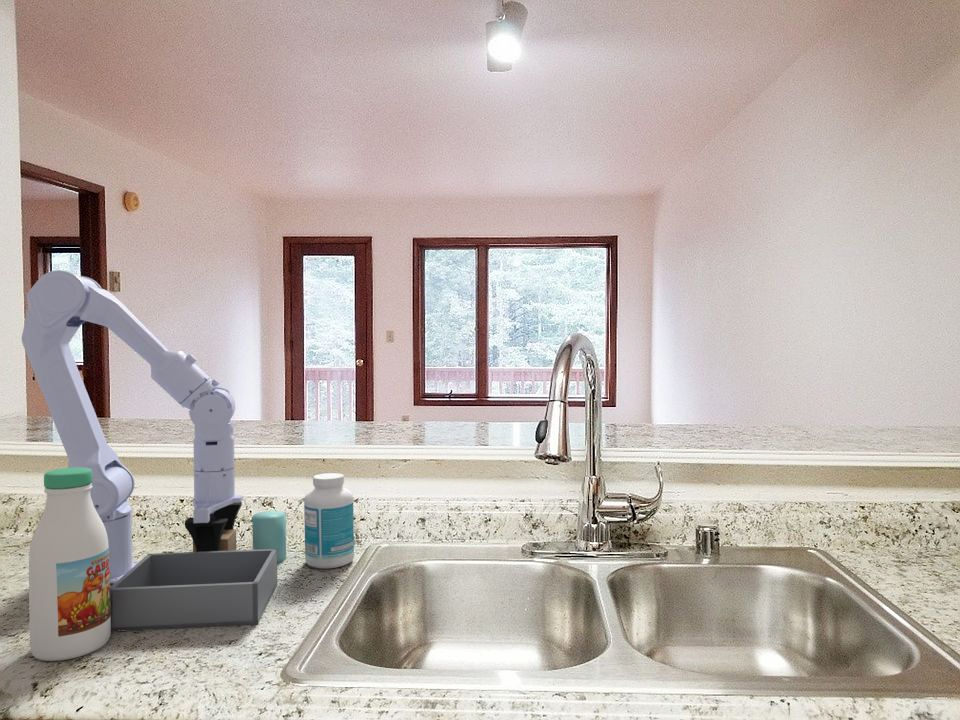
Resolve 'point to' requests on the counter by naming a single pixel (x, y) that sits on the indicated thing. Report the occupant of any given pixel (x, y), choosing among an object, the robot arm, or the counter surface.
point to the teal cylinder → (270, 532)
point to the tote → (194, 590)
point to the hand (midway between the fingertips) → (215, 557)
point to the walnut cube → (225, 541)
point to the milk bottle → (69, 571)
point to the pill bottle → (329, 523)
